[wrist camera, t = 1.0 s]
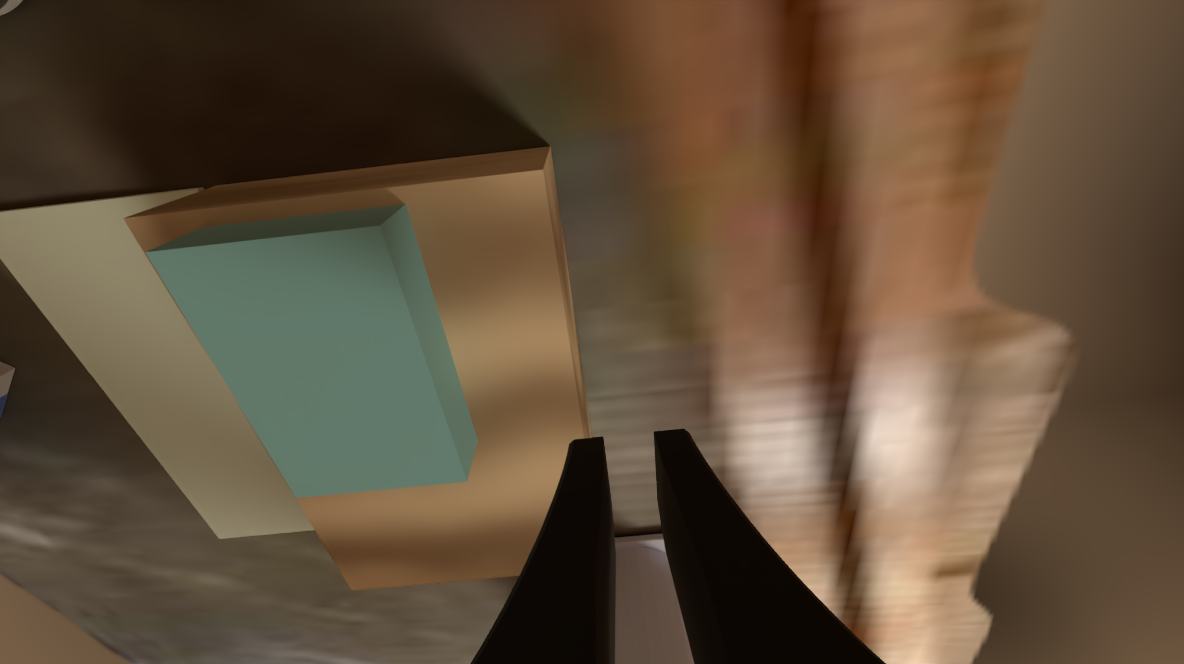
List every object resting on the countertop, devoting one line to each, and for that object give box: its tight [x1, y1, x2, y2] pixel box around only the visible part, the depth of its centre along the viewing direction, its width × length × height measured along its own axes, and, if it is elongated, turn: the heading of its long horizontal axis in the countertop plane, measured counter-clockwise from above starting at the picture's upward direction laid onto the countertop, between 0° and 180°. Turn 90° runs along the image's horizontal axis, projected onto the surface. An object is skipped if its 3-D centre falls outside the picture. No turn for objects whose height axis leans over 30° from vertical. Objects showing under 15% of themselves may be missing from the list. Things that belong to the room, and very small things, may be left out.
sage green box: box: [145, 204, 478, 498], centre depth 15 cm, size 9×6×2 cm, turn 6°
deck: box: [123, 146, 592, 591], centre depth 19 cm, size 18×12×4 cm, turn 6°
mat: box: [0, 187, 314, 539], centre depth 21 cm, size 18×8×1 cm, turn 6°
